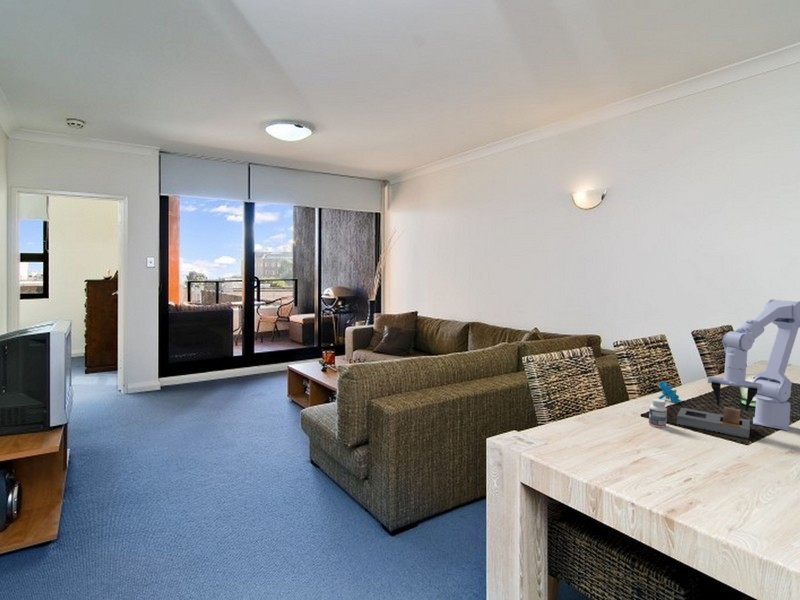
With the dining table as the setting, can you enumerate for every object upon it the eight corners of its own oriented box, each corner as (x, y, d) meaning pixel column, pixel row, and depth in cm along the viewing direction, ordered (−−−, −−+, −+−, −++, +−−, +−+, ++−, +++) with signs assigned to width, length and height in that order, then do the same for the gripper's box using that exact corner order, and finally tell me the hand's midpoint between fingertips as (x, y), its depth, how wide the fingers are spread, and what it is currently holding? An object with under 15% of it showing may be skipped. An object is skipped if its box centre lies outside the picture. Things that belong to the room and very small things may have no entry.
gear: (673, 401, 177) (657, 380, 183) (660, 409, 180) (645, 387, 186) (686, 401, 183) (670, 380, 189) (674, 408, 186) (659, 388, 192)
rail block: (749, 428, 153) (749, 419, 153) (748, 438, 144) (749, 428, 144) (680, 415, 166) (681, 406, 165) (676, 424, 156) (677, 415, 156)
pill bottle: (650, 421, 158) (651, 396, 158) (667, 425, 155) (668, 400, 154) (647, 425, 154) (648, 400, 153) (664, 429, 151) (666, 403, 150)
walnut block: (738, 429, 152) (740, 409, 151) (738, 433, 148) (739, 412, 148) (722, 426, 155) (724, 406, 154) (721, 430, 151) (723, 409, 151)
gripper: (708, 366, 151) (705, 405, 152) (763, 373, 142) (759, 414, 143) (709, 362, 157) (707, 400, 158) (763, 369, 148) (759, 409, 149)
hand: (732, 407), depth 151 cm, fingers open, 7 cm apart
